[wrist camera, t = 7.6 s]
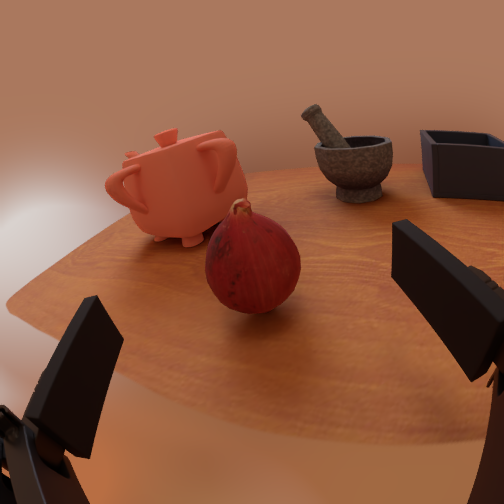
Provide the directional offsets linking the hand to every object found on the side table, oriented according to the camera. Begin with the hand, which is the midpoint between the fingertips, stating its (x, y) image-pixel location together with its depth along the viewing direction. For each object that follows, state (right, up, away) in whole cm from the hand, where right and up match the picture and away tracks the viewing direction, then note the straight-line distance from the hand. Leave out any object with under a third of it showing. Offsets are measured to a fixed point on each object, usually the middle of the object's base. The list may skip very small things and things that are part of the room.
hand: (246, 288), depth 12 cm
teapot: (-8, +5, +26) cm, 28 cm away
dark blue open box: (+30, +11, +19) cm, 37 cm away
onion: (+1, -3, +8) cm, 9 cm away
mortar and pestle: (+13, +9, +23) cm, 28 cm away
